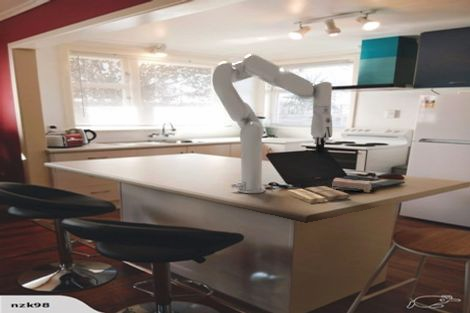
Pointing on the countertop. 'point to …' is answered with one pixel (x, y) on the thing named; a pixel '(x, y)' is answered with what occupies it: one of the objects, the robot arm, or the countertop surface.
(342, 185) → the brick
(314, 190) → the plank
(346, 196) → the plank
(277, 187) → the countertop surface
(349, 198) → the underlay mat
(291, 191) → the laid board
